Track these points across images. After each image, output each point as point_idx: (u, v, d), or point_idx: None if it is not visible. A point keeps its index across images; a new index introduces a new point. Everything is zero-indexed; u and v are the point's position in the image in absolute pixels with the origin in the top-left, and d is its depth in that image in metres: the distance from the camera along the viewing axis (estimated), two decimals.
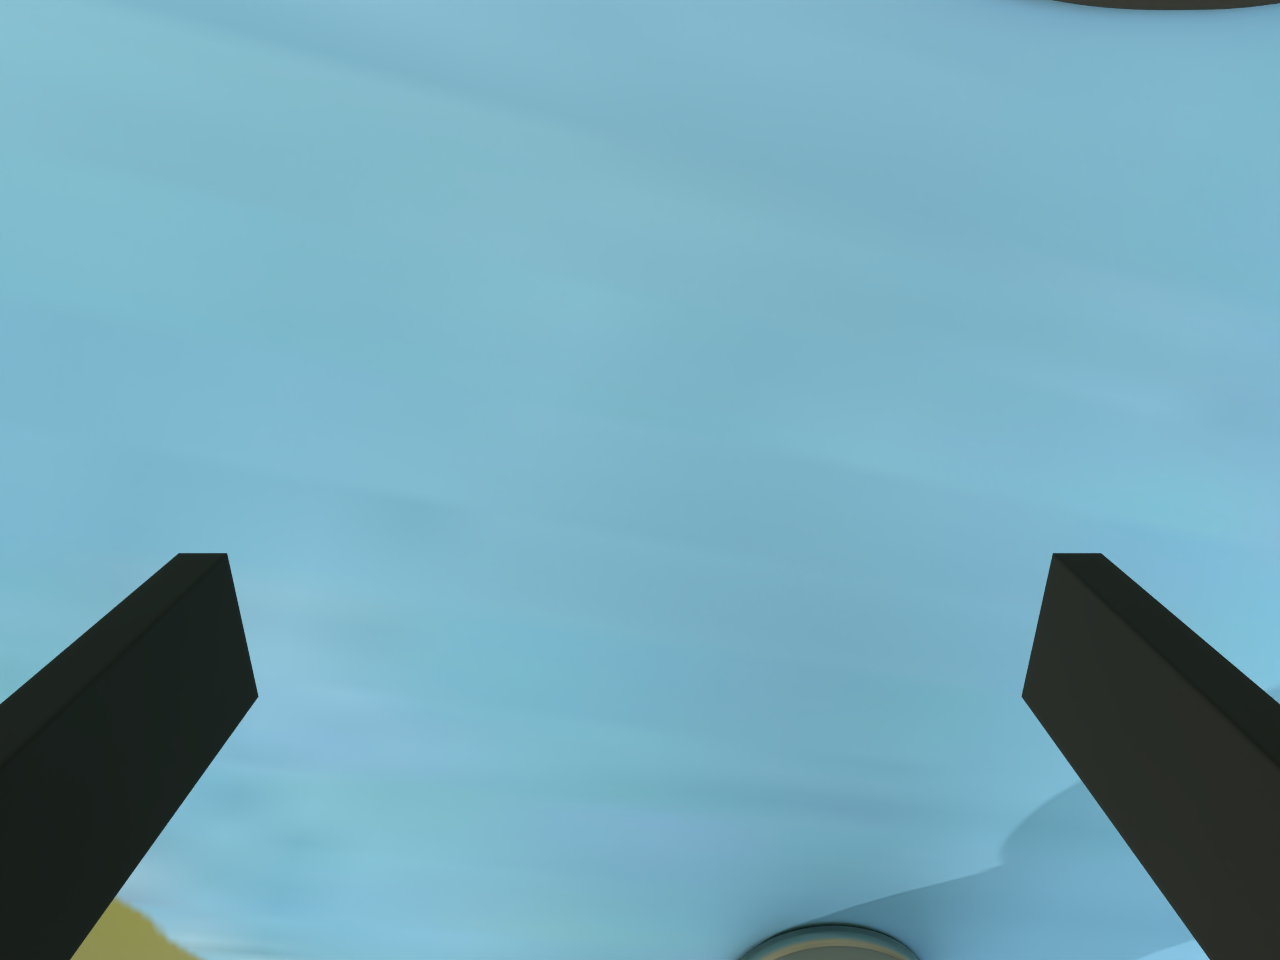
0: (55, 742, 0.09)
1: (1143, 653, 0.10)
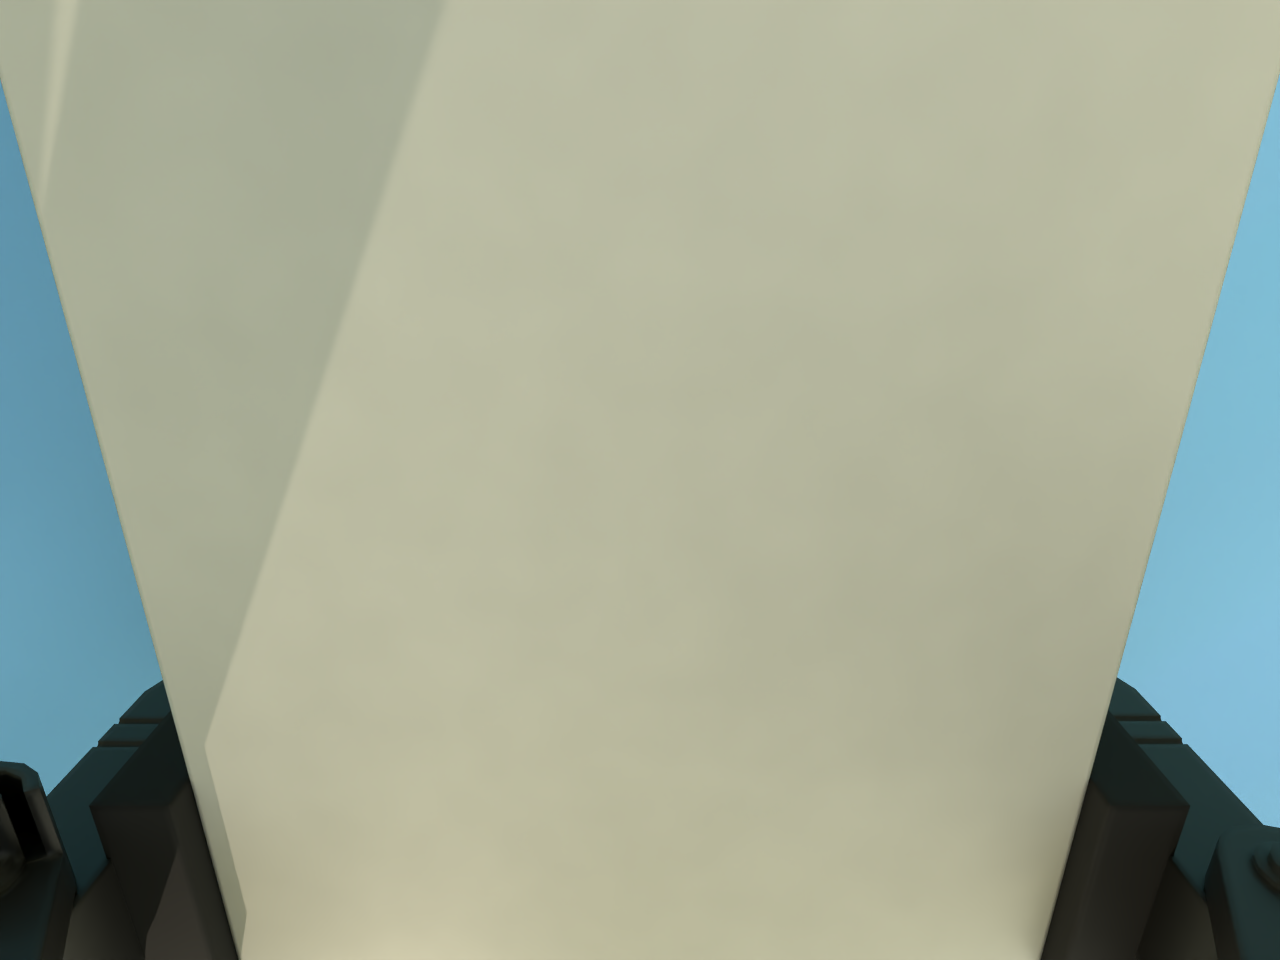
0: None
1: None
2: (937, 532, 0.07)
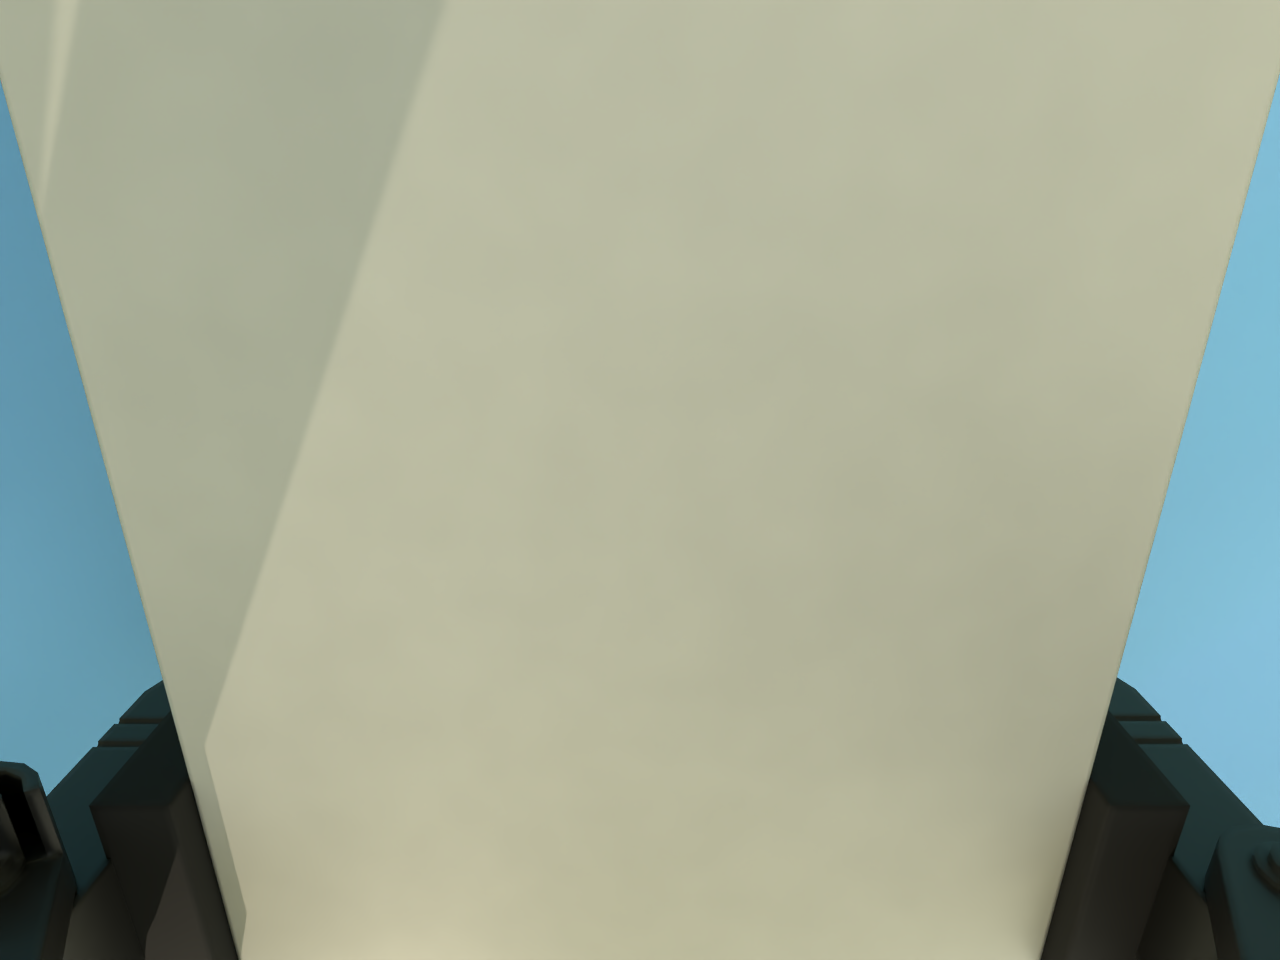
0: None
1: None
2: (937, 532, 0.07)
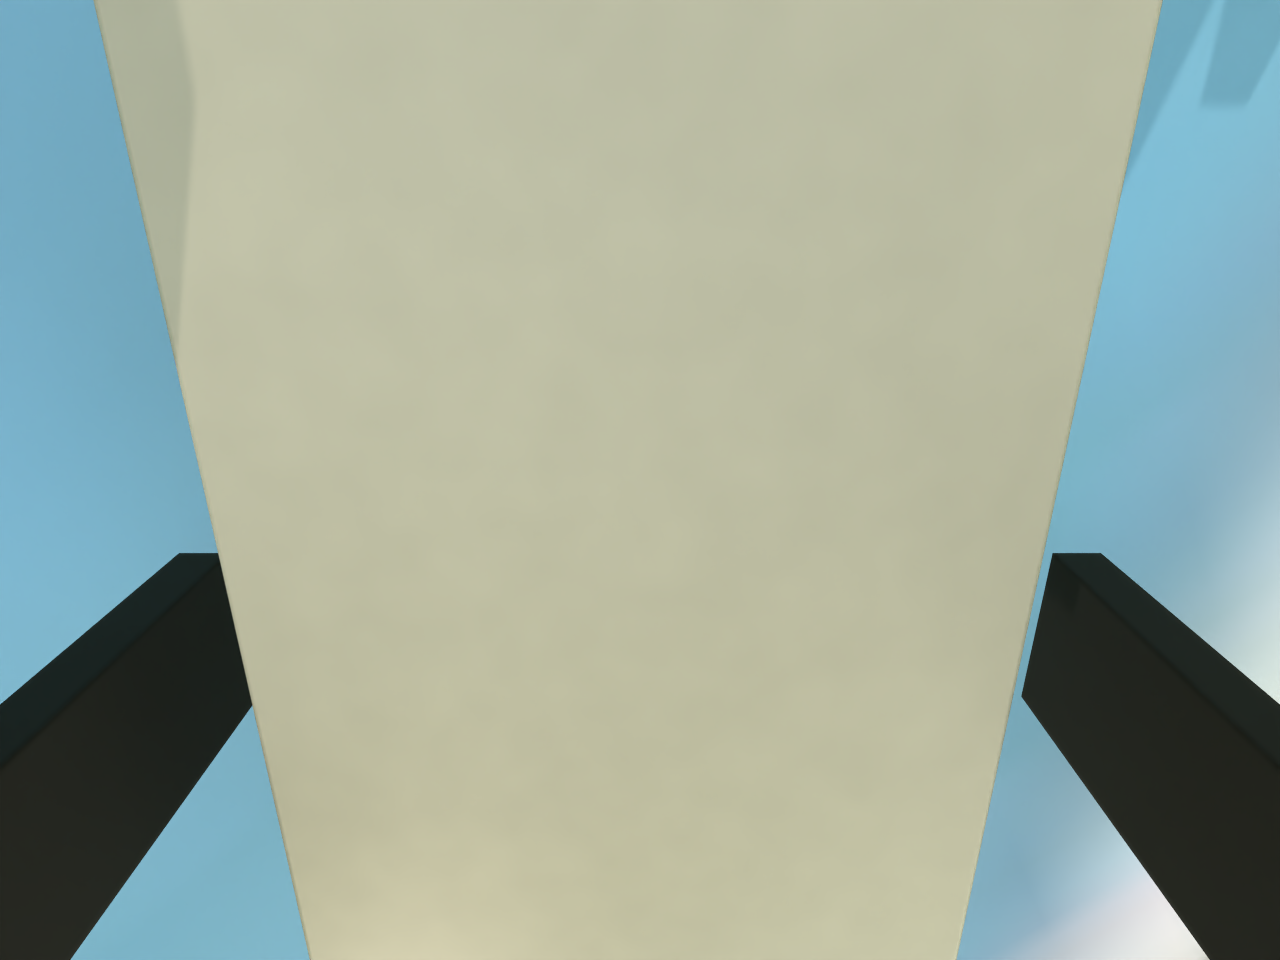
0: (55, 742, 0.09)
1: (1143, 653, 0.10)
2: (879, 462, 0.08)
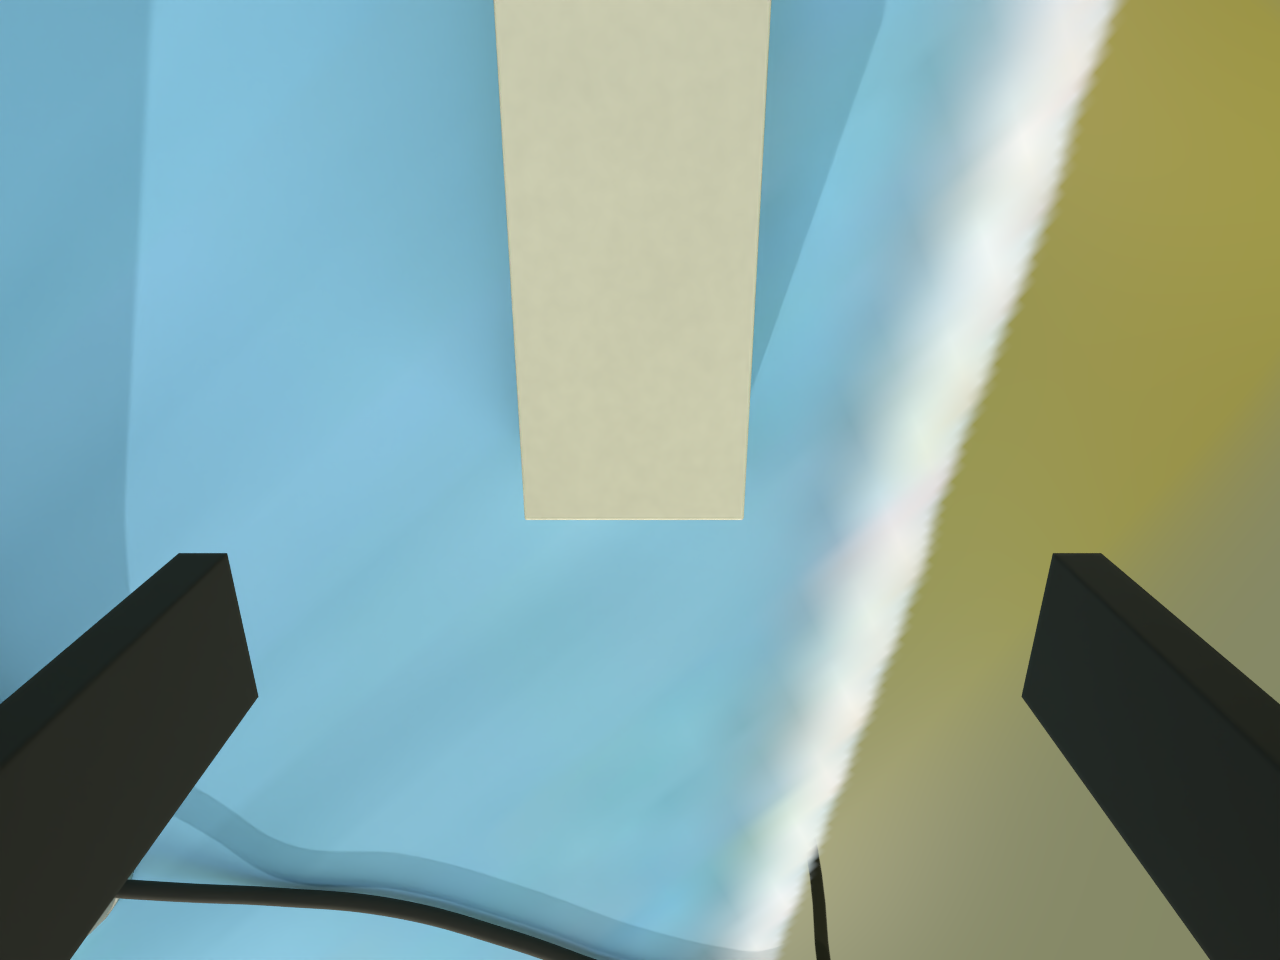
0: (55, 742, 0.09)
1: (1143, 653, 0.10)
2: (704, 250, 0.28)
